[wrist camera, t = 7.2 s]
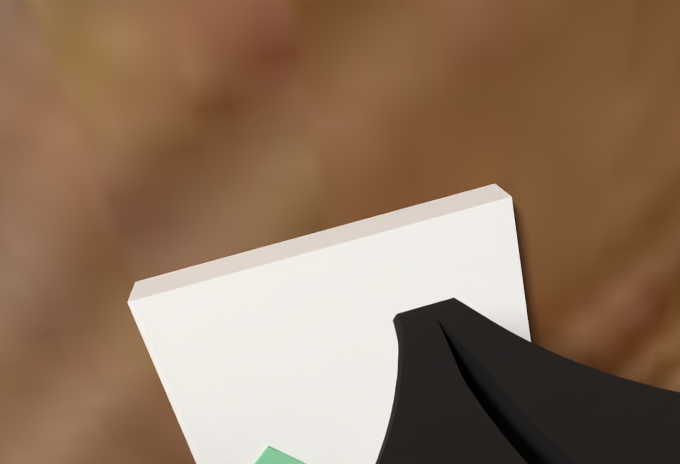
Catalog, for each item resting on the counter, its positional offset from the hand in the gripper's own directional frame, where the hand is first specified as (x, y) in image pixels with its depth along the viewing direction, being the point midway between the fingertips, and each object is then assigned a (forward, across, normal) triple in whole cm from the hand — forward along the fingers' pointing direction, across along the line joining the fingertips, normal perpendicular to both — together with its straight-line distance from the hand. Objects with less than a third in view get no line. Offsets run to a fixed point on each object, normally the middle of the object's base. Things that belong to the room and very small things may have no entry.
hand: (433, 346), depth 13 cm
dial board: (+9, +2, +14) cm, 17 cm away
